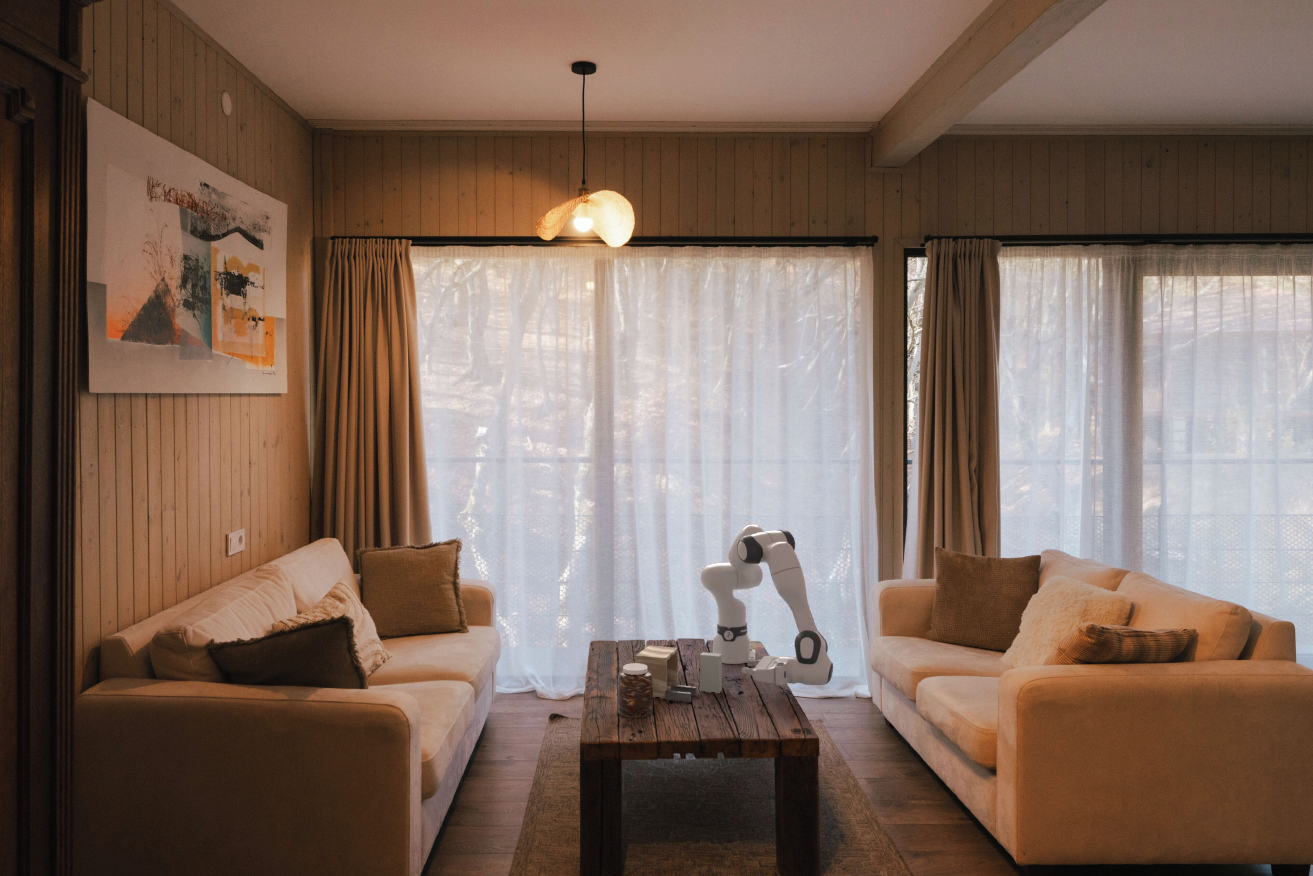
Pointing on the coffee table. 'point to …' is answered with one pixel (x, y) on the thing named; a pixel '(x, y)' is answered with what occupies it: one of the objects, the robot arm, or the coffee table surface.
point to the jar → (635, 691)
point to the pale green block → (711, 672)
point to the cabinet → (660, 667)
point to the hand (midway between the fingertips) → (744, 666)
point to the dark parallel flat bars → (680, 693)
